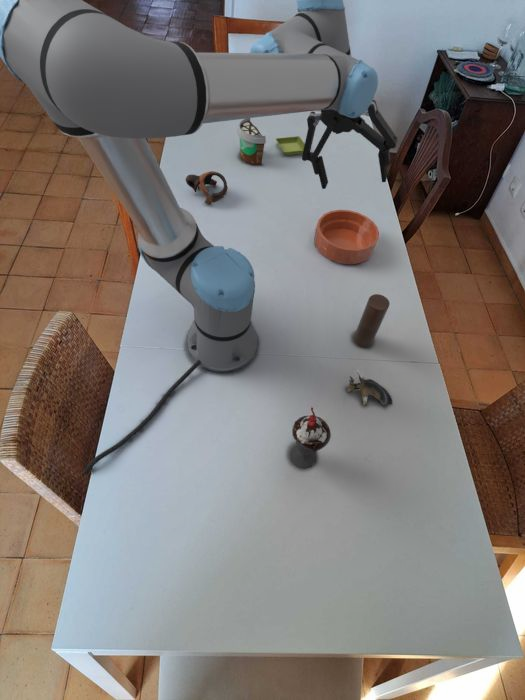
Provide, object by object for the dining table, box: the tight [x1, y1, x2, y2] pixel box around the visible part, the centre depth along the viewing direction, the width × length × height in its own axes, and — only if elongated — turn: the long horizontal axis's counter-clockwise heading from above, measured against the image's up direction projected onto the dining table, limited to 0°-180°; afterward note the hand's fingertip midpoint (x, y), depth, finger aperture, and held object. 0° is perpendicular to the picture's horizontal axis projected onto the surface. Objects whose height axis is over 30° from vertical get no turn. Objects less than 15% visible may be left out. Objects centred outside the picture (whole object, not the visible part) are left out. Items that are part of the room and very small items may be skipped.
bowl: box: [313, 209, 380, 265], centre depth 122 cm, size 16×16×6 cm
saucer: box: [275, 135, 305, 156], centre depth 150 cm, size 9×9×2 cm
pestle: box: [353, 293, 390, 348], centre depth 99 cm, size 4×4×13 cm
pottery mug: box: [185, 170, 229, 206], centre depth 130 cm, size 12×10×8 cm
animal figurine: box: [347, 368, 393, 406], centre depth 93 cm, size 8×7×9 cm
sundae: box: [289, 406, 332, 469], centre depth 81 cm, size 7×7×15 cm
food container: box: [236, 118, 267, 166], centre depth 141 cm, size 12×6×10 cm, turn 25°
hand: (354, 182), depth 102 cm, fingers open, 13 cm apart
